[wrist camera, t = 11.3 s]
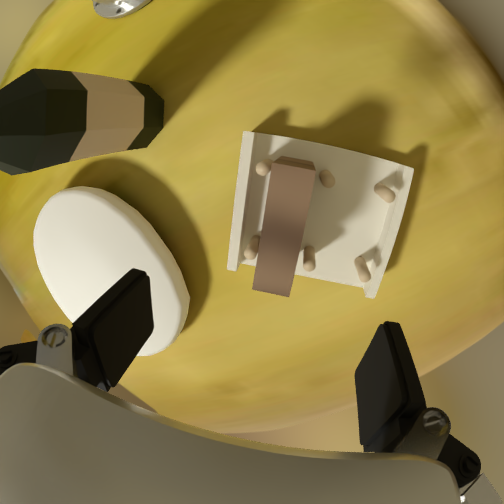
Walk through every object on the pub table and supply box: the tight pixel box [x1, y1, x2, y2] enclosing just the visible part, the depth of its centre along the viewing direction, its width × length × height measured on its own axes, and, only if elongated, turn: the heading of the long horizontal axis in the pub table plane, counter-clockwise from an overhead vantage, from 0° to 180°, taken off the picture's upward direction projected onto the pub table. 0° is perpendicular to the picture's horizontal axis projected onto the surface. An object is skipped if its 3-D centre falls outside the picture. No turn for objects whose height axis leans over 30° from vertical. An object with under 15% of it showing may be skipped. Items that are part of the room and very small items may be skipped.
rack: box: [227, 131, 414, 299], centre depth 26 cm, size 14×16×5 cm
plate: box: [34, 186, 190, 356], centre depth 34 cm, size 28×6×27 cm
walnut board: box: [252, 156, 316, 297], centre depth 23 cm, size 10×3×8 cm, turn 172°
